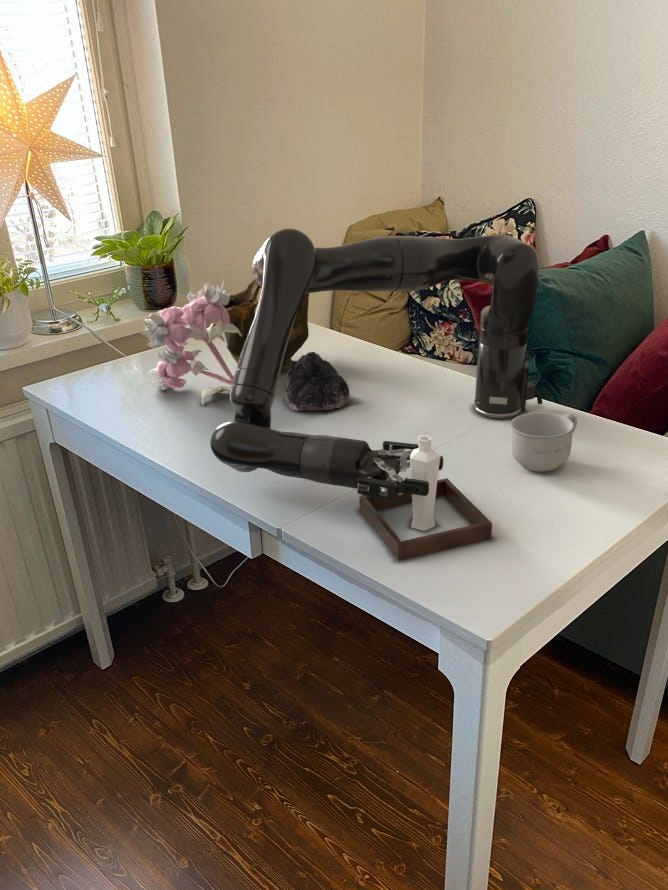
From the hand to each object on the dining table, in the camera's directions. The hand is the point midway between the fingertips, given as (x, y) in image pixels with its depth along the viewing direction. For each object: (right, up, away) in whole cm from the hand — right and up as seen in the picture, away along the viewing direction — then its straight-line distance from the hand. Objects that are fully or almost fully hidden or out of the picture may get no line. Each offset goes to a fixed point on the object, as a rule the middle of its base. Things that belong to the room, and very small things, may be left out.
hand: (435, 475), depth 133 cm
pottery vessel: (-34, +28, +61) cm, 75 cm away
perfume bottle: (-2, -7, +5) cm, 9 cm away
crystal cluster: (-22, +18, +46) cm, 54 cm away
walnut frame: (-2, -7, +5) cm, 9 cm away
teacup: (+21, +4, +23) cm, 32 cm away
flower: (-49, +21, +49) cm, 72 cm away
